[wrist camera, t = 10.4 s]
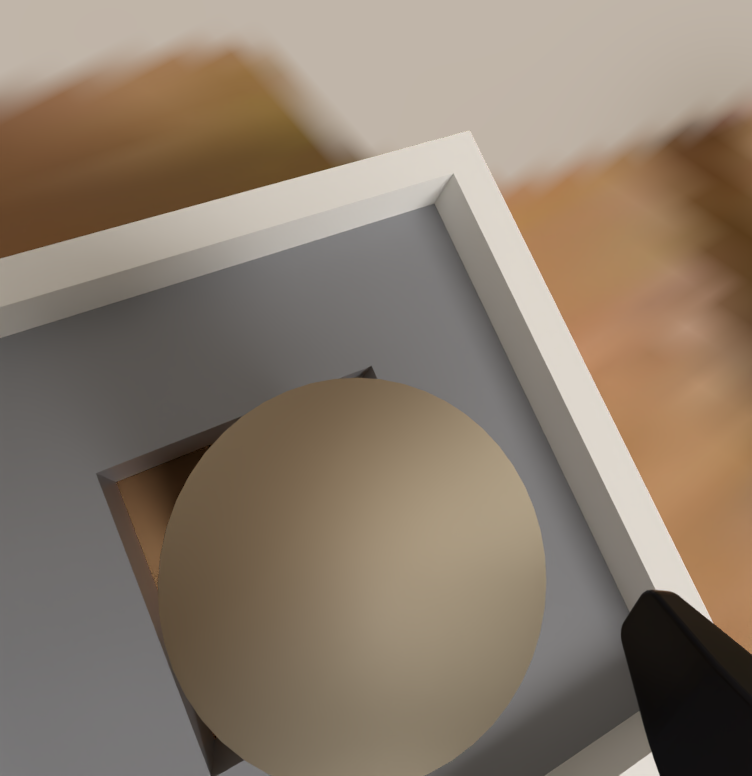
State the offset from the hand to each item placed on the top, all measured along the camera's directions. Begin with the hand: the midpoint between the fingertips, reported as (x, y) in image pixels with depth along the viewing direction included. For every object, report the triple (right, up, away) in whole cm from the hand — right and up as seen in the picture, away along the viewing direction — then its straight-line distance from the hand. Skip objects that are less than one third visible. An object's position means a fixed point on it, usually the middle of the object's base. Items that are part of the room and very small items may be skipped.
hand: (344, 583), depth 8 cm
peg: (-2, -2, +8) cm, 8 cm away
